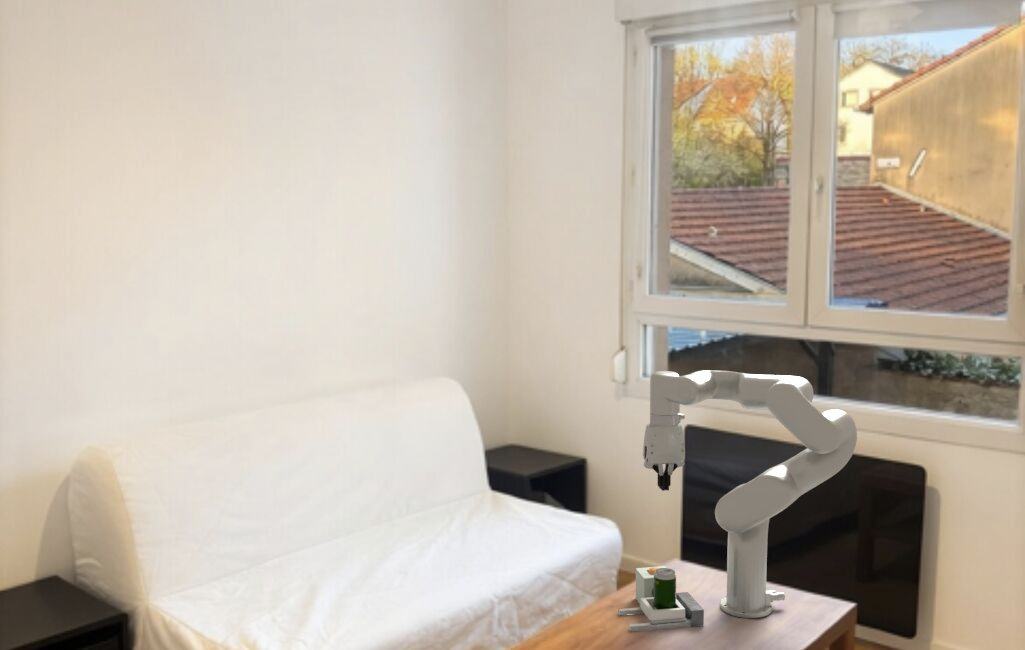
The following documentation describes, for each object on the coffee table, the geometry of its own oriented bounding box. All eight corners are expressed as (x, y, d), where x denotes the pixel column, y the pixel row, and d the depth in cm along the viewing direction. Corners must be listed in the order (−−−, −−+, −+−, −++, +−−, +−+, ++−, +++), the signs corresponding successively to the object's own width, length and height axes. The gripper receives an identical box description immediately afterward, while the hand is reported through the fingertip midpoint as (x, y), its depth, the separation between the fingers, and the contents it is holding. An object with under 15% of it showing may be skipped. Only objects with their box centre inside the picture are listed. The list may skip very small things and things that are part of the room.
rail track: (687, 607, 244) (687, 592, 243) (703, 625, 233) (703, 609, 232) (618, 613, 241) (618, 597, 240) (631, 632, 230) (631, 616, 229)
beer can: (663, 625, 233) (664, 577, 232) (648, 617, 238) (649, 570, 236) (680, 620, 236) (680, 572, 235) (665, 612, 241) (665, 566, 239)
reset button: (658, 576, 248) (658, 566, 248) (662, 580, 245) (662, 571, 245) (647, 577, 247) (647, 567, 247) (651, 581, 244) (651, 572, 244)
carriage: (671, 603, 243) (671, 593, 242) (686, 620, 232) (686, 610, 232) (639, 606, 241) (639, 596, 241) (652, 623, 231) (652, 613, 230)
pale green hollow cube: (665, 595, 251) (665, 565, 250) (675, 607, 244) (675, 576, 243) (635, 598, 250) (635, 568, 249) (644, 610, 242) (644, 579, 241)
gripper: (686, 415, 255) (686, 483, 257) (632, 418, 252) (631, 486, 254) (697, 421, 247) (696, 491, 250) (641, 424, 245) (640, 495, 247)
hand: (663, 488), depth 252 cm, fingers closed
